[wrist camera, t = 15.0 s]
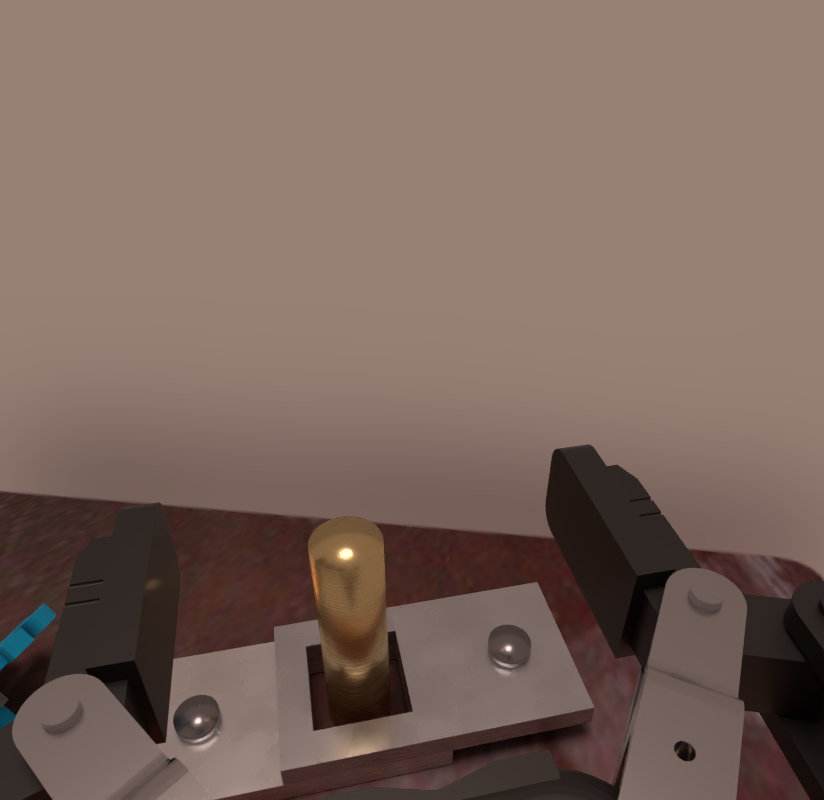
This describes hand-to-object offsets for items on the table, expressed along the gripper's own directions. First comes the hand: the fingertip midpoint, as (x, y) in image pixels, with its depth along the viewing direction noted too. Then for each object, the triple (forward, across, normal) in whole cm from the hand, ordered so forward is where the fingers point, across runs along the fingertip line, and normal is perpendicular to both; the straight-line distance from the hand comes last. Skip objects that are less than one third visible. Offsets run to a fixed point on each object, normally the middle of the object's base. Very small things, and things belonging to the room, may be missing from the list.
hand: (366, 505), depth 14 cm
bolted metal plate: (+11, 0, +24) cm, 26 cm away
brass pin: (+10, 0, +24) cm, 26 cm away
